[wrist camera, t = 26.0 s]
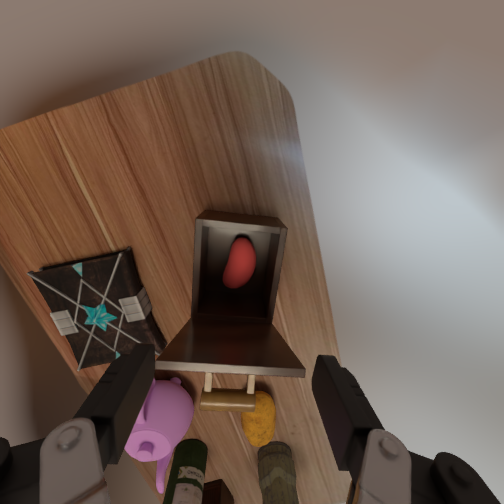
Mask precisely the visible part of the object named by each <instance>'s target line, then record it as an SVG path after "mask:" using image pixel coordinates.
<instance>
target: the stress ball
mask: <svg viewBox="0 0 504 504" xmlns="http://www.w3.org/2000/svg"><path fill="white" fill-rule="evenodd" d="M255 266H256V252H255V249H254V247H253V245H252V243H251V242H250V241H249V240H248V239H247V238H245V237H240V238H237V239H236V240H235V241H234V242H233V244H232V247H231V250H230V254H229V258H228V263H227V265H226V267H225V270H224V273H223V283H224V285H225V286H226V287H229V288H239V287H241V286H243V285H245V284H246V283H247V282H248V281H249V280H250V278H251V277H252V275H253V273H254V270H255Z"/></svg>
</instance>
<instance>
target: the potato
mask: <svg viewBox="0 0 504 504" xmlns="http://www.w3.org/2000/svg"><path fill="white" fill-rule="evenodd" d="M255 393H256V405H255V411H254V412H241V423H242V428H243V431H244V433H245V435H246V436H247V438H248V441H249V442H250V443H251V444H252V445H253V446H257V447H260V446H264V445H267V444H268V443H269V442H270V440H271V439H272V438H273V435H274V430H275V420H276V408H275V405H274V402H273V399H272V398H271V396H270V395H269V394H267V393H266V392H264V391H255Z"/></svg>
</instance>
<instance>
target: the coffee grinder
mask: <svg viewBox="0 0 504 504" xmlns="http://www.w3.org/2000/svg"><path fill="white" fill-rule="evenodd" d="M201 504H234V500H233V497H232V495H231V493H230V491H229V490H228V488H227V487H226V485H225V484H224V482H223V481H222V480H217V481H213V482H209V483H206V484H204V486H203V494H202V503H201Z"/></svg>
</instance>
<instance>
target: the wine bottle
mask: <svg viewBox="0 0 504 504" xmlns="http://www.w3.org/2000/svg"><path fill="white" fill-rule="evenodd" d="M206 461H207V447H206V445H205V444H204V443H202V442H201V441H199V440H194V439H189V440H185V441H183V442H181V443H180V444H179V445H178V446H177V447H176V450H175V455H174V459H173V463H172V467H171V471H170V476H169V480H168V484H167V488H166V493H165V497H164V501H163V504H201V503H202V494H203V486H204V477H205V469H206Z"/></svg>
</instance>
